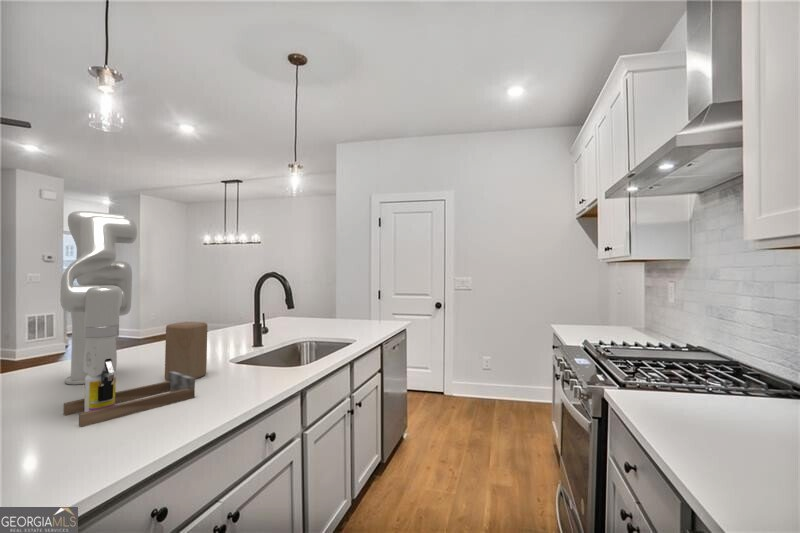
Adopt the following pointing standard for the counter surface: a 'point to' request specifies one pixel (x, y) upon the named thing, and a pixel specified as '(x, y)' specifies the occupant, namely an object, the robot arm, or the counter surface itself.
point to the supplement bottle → (96, 394)
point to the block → (186, 349)
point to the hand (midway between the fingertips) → (100, 396)
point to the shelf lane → (176, 383)
